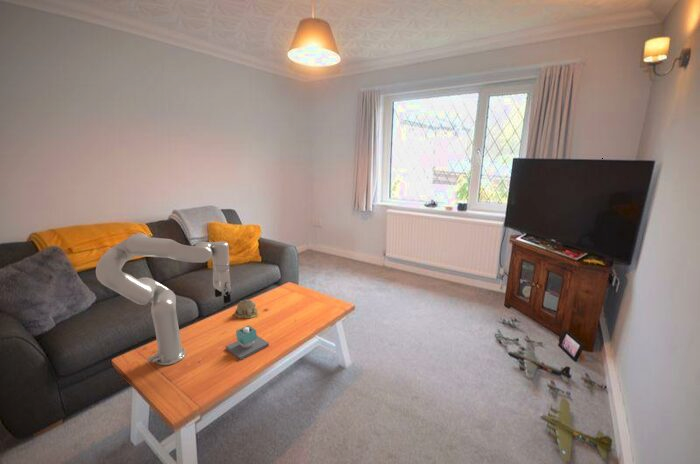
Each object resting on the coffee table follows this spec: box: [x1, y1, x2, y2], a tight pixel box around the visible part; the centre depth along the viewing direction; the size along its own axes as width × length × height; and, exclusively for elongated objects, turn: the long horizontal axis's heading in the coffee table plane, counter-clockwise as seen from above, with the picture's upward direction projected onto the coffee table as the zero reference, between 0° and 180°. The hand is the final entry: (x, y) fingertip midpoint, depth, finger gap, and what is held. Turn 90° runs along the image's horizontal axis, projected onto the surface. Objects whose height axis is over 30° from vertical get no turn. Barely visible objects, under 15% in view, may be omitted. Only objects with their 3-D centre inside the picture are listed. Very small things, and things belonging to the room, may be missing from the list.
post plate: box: [225, 326, 270, 361], centre depth 159 cm, size 16×14×10 cm
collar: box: [235, 324, 258, 345], centre depth 159 cm, size 7×7×5 cm
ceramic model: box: [234, 298, 259, 319], centre depth 192 cm, size 14×11×10 cm
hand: (222, 299), depth 157 cm, fingers open, 9 cm apart
